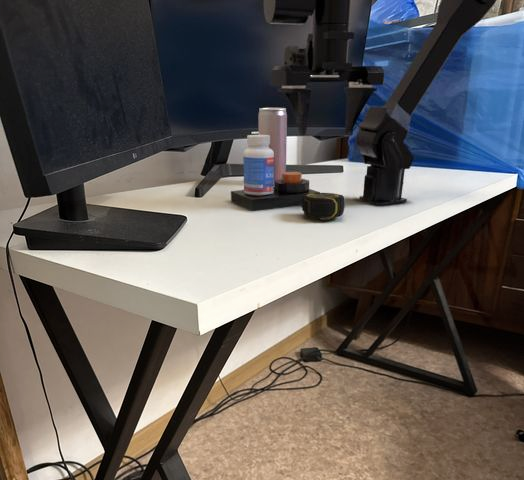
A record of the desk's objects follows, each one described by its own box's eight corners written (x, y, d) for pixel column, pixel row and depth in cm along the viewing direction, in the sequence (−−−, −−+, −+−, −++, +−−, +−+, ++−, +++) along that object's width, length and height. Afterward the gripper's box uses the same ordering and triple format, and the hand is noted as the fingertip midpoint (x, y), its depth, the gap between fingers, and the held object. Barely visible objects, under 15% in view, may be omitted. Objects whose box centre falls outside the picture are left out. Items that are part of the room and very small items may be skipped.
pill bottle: (271, 196, 90) (271, 137, 86) (241, 195, 91) (239, 136, 86) (275, 190, 95) (276, 134, 90) (247, 190, 96) (246, 134, 91)
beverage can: (257, 181, 115) (257, 107, 108) (283, 180, 116) (284, 107, 109) (260, 185, 110) (259, 109, 103) (287, 185, 111) (289, 108, 104)
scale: (295, 194, 102) (295, 176, 100) (319, 202, 95) (320, 183, 93) (231, 201, 96) (230, 182, 94) (252, 210, 89) (251, 190, 87)
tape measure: (340, 213, 87) (342, 190, 85) (345, 222, 81) (347, 198, 79) (300, 213, 87) (301, 190, 85) (302, 222, 81) (303, 198, 79)
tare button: (295, 180, 97) (295, 171, 97) (305, 183, 94) (305, 173, 94) (278, 182, 96) (278, 172, 95) (288, 185, 93) (288, 175, 92)
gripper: (349, 31, 89) (343, 128, 97) (254, 27, 82) (255, 132, 89) (391, 26, 81) (381, 133, 88) (288, 21, 73) (287, 138, 80)
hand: (325, 134), depth 87 cm, fingers open, 9 cm apart
